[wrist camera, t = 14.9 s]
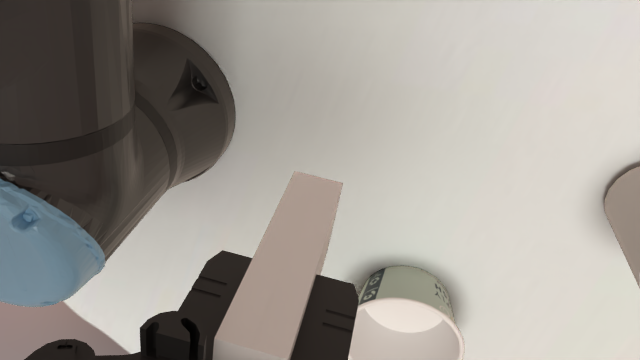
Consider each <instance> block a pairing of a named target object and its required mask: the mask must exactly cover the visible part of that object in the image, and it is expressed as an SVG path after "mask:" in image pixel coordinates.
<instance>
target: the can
mask: <svg viewBox="0 0 640 360" xmlns="http://www.w3.org/2000/svg"><path fill="white" fill-rule="evenodd" d="M604 203H605V214H606V216H607V218H608V220H609V222H610V225H611V227H612V229H613V231H614V233H615V236H616V238H617V240H618V242H619V244H620V246H621V249H622V251H623V253H624V255H625V257H626V260H627V262H628V264H629V266H630V268H631V271H632V273H633V275H634V277H635V279H636V282H637V284H638V286H639V288H640V166H639V167H636V168H634V169H631V170H629V171H628V172H627V173H625V174H624V175H622V176H621V177H619V178H618V179H617V180H616V181H615V183H614V184H613V185H612V186H611V187H610V189H609V190H608V193H607V196H606V198H605V201H604Z"/></svg>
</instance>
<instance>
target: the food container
mask: <svg viewBox="0 0 640 360" xmlns="http://www.w3.org/2000/svg"><path fill="white" fill-rule="evenodd" d="M358 299H359V303H358V309H357V314H356V319H355V324H354V330H353V335H352V340H351V346H350V351H349V356H348V359H349V360H463V357H464V351H465V346H464V340H463V337H462V335H461V332H460V331H459V329H458V327H457V326H456V324H455V320H454V316H453V312H452V308H451V304H450V300H449V296H448V293H447V291H446V289H445V287H444V285H443V284H442V283H441V282H440V281H439V280H438V279H437V278H436V277H435V276H433V275H432V274H430V273H428V272H426V271H424V270H422V269H419V268H415V267H410V266H392V267H387V268H384V269H381V270H379V271H377V272H376V273H374V274H373V275H372V276H370V278H369V279H368V280H367V281H366V283H365V285H364V287H363V289H362V291H361V293H360V295H359V298H358Z"/></svg>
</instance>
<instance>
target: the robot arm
mask: <svg viewBox="0 0 640 360" xmlns="http://www.w3.org/2000/svg"><path fill="white" fill-rule="evenodd" d="M234 126H235V108H234V102H233V98H232V94H231V91H230V88H229V86H228V83H227V81H226V79H225V77H224V75H223V74H222V72H221V70H220V69H219V67H218V66H217V65H216V63H215V62H214V61H213V60H212V58H211V57H210V56H209V55H208V54H207V53H206V52H205V51H204V50H203V49H202V48H201V47H200V46H198V45H197V44H196V43H195V42H193V41H192V40H190V39H189V38H187V37H186V36H184V35H182V34H181V33H179V32H177V31H174V30H172V29H170V28H167V27H164V26H160V25H155V24H149V23H134V24H132V0H0V301H1V302H4V303H8V304H12V305H17V306H25V307H43V306H48V305H53V304H56V303H58V302H59V301H63V300H66V299H68V298H70V297H71V296H72V295H74V294H75V293H76V292H77V291H78V290H79V289H80V288H81V287H82V286H84V285H85V284H86V283H87V282H88V281H89V280H90V279H91V278H92V277H93V276H94V275H96V274H98V273H99V272H100V271H101V270H102V269H103V267H104V266H105V265H104V264H105V263H106V261H107V260H108V258H109V257H110V256H111V255H112V254H113V252H114V251H115V250H116V249H117V248H118V247H119V245H120V244H121V243H122V242H123V241H124V240H125V238H126V237H127V236H128V235H129V234H130V233H131V231H132V230H133V229H134V228H135V227H136V226H137V224H138V223H139V222H140V221H141V220H142V219H143V217H144V216H145V215H146V214H147V213H148V212H149V210H150V209H151V208H152V207H153V206H154V205H155V203H156V202H157V201H158V200H159V199H160V197H161V196H162V195H163V194H164V193H165V192H166V191H167V190H168V189H170V188H172V187H174V186H176V185H178V184H180V183H182V182H186V181H189V180H192V179H194V178H196V177H198V176H200V175H202V174H203V173H205V172H206V171H208V170H209V169H210V168H211V167H212V166H213V165H214V164H215V163H216V162H217V160H218V159H219V158H220V157H221V155H222V154H223V153H224V151H225V150H226V149H227V147H228V145H229V143H230V141H231V138H232V135H233V132H234ZM342 185H343V183H340V182H336V181H332V180H328V179H324V178H320V177H316V176H312V175H308V174H304V173H300V172H296V171H295V172H294V174H293V176H292V178H291V180H290V182H289V184H288V186H287V188H286V190H285V192H284V194H283V197H282V199H281V201H280V203H279V205H278V207H277V209H276V211H275V213H274V215H273V217H272V219H271V221H270V224H269V226H268V228H267V230H266V232H265V234H264V236H263V238H262V240H261V242H260V244H259V246H258V249H257V251H256V253H255V255H254V257H253V258H249V257H245V256H242V255H238V254H234V253H230V252H227V251H223V250H222V251H221V252H220V253H218V254H217V255H215V256H214V257H213V258H211V259H210V260H208V261H207V263H206V264H205V266H204V268H203V270H202V271H201V273H200V275H199V277H198V279H197V280H196V281H195V283H194V285H193V286H192V289H191V291H189V293H188V295H187V297H186V298H185V300H184V302H183V303H182V305H181V307H180V308H179V310H178V311H170V312H164V313H160V314H158V315H156V316H154V317H152V318H150V319H148V320H147V321H146V322H145V323H144V324H143V325H142V326H141V327H140V344H141V352H138V353H135V354H129V355H113V356H111V355H109V356H95V353H94V350H93V349H92V348H91V347H90V346H89V345H87V343H84V342H81V341H78V340H75V339H66V340H64V339H63V340H58V341H54V342H51V343H48V344H46V345H44V346H42V347H41V348H39V349H37V350H36V351H34V352H33V353H32V354H31V355H30V356H28V357H27V358H26V359H24V360H348V356H349V351H350V346H351V340H352V335H353V330H354V324H355V319H356V314H357V309H358V303H359V299H358V296H357V293H356V290H355V287H354V284H350V283H347V282H343V281H339V280H335V279H332V278H328V277H324V276H321V275H320V274H321V271H322V267H323V264H324V261H325V257H326V254H327V250H328V246H329V242H330V237H331V233H332V229H333V224H334V220H335V215H336V211H337V207H338V202H339V198H340V194H341V189H342Z"/></svg>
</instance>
